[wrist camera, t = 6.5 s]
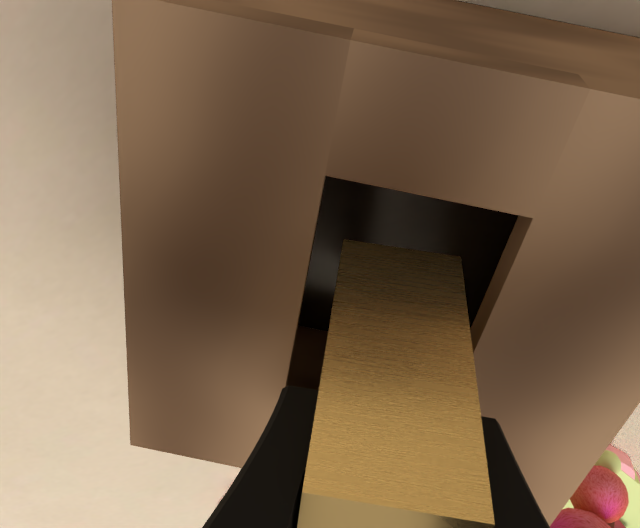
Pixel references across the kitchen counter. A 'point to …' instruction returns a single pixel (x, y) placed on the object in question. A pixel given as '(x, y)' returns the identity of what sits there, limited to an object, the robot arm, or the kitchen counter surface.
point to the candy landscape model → (605, 496)
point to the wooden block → (397, 399)
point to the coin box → (383, 171)
